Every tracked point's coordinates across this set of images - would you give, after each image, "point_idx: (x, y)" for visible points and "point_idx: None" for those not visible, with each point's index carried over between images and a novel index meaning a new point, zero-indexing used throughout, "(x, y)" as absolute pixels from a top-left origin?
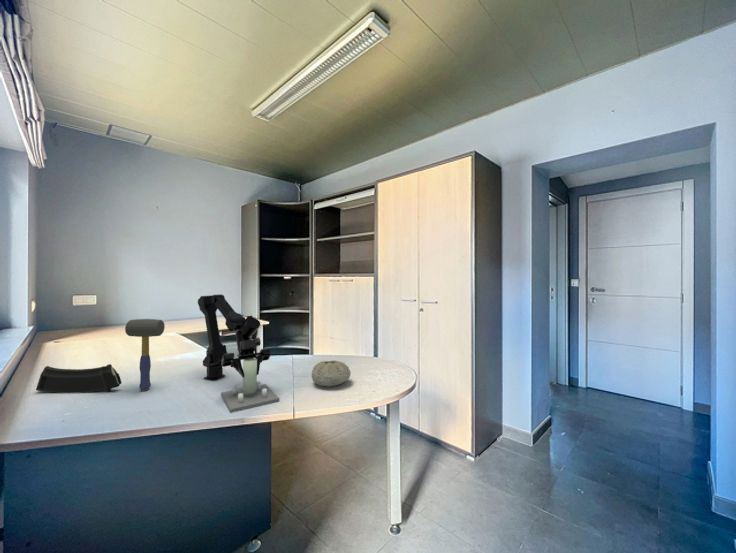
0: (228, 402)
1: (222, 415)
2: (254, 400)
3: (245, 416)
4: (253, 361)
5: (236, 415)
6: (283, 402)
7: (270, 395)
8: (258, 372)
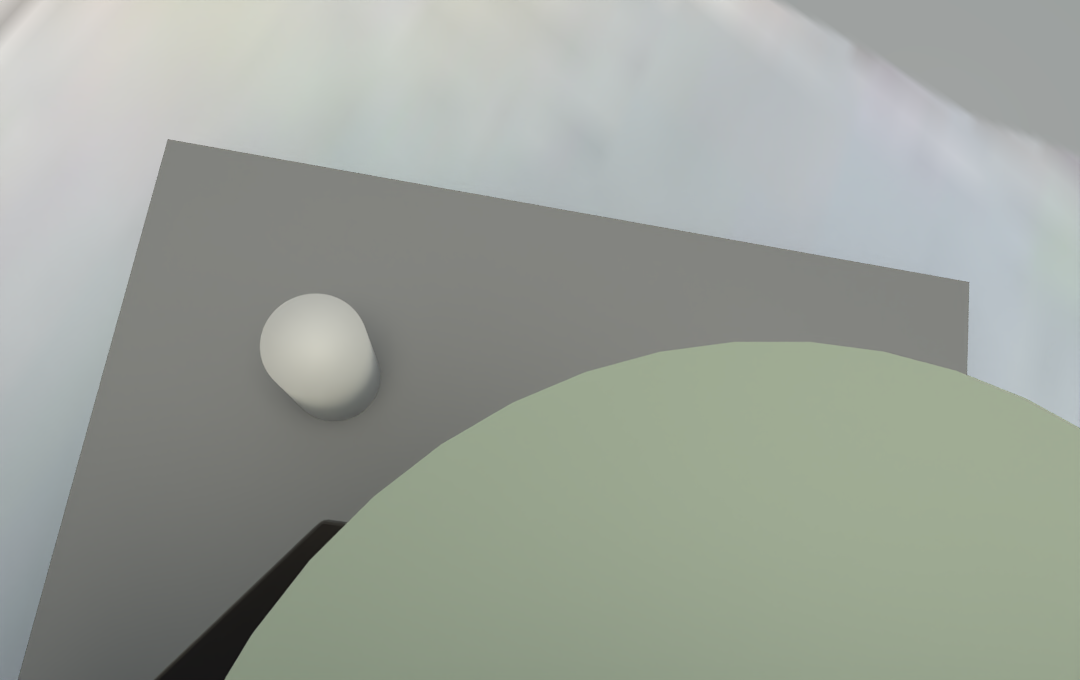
0: None
1: (1046, 289)
2: (549, 345)
3: (804, 57)
4: (719, 368)
5: (891, 162)
6: (161, 84)
7: (216, 358)
8: (312, 543)
